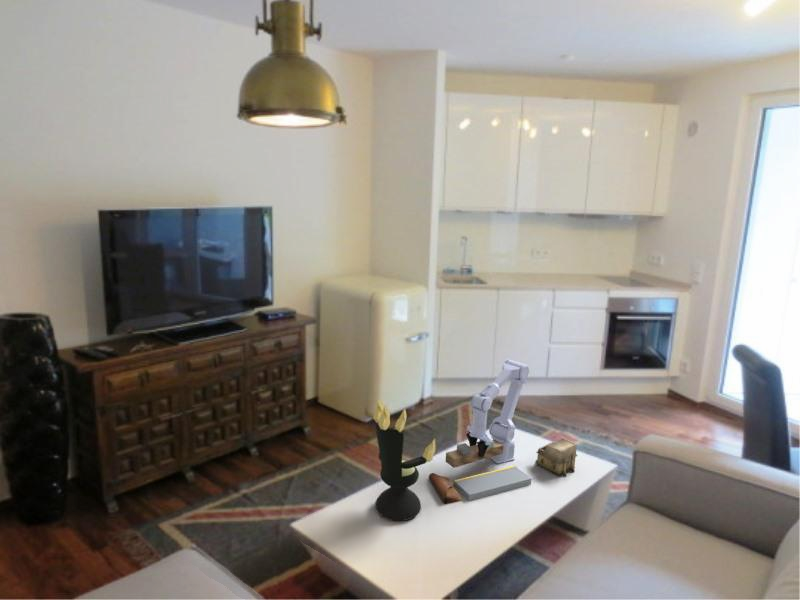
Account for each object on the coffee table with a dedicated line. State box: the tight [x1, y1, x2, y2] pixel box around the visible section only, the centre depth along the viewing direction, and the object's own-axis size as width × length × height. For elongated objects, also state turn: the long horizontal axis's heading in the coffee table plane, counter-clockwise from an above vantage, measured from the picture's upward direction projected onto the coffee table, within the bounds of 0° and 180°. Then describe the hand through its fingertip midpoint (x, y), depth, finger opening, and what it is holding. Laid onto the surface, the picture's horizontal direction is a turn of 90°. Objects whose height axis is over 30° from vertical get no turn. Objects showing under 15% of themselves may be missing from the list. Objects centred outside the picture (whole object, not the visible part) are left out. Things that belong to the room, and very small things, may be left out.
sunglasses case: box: [428, 472, 463, 505], centre depth 217 cm, size 18×7×7 cm
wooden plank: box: [445, 439, 504, 469], centre depth 231 cm, size 26×6×4 cm, turn 121°
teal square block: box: [478, 438, 494, 449], centre depth 233 cm, size 4×4×2 cm
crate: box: [456, 442, 471, 455], centre depth 227 cm, size 4×4×2 cm
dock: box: [453, 465, 532, 502], centre depth 222 cm, size 30×11×3 cm, turn 117°
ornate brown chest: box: [535, 437, 578, 478], centre depth 239 cm, size 15×14×11 cm
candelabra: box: [373, 397, 436, 522], centre depth 197 cm, size 19×22×45 cm
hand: (477, 453), depth 231 cm, fingers closed on wooden plank, 6 cm apart
